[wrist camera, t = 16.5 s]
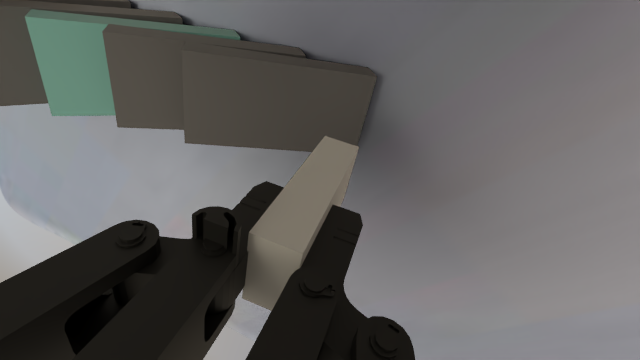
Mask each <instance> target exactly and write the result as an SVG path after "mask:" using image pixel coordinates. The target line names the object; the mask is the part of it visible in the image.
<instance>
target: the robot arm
mask: <svg viewBox="0 0 640 360" xmlns="http://www.w3.org/2000/svg"><path fill="white" fill-rule="evenodd" d="M358 149H359V147H358V146H355V145H352V144H349V143H346V142H343V141H339V140H336V139H333V138H330V137H327V136H324V138H323V139H322V140H321V142H320V143H319V144H318V145H317V147H316V148H315V149H314V150H313V152H312V153H311V154H310V155H309V157H308V158H307V159H306V161H305V162H304V163H303V164H302V166H301V167H300V168H299V169H298V171H297V172H296V173H295V175H294V176H293V177H292V178H291V180H290V181H289V182H288V183H287V185H286V186H285V187H284V188H283V187H281V186H278V185H275V184H272V183H270V182H267V181H266V182H263V183H261V184H259V185H257V186H254V187H253V188H252V190H251V191H250V192H249V193H248V194H247V195H246V197H244V198H243V199H242V200H241V201H240V203H239V204H237V206H236V207H235V208H234V209H233V210H230V209H228V208H224V207H206V208H203V209H199V210H198V211H196V212H195V213H193V214H192V233H193V237H192V238H191V239H178V238H169V237H160V236H159V230H158V229H157V227H156V226H155V225H154V224H152V223H150V222H147V221H142V220H131V221H125V222H122V223H119V224H117V225H114V226H112V227H110V228H108V229H106V230H104V231H102V232H100V233H98V234H96V235H94V236H92V237H90V238H88V239H87V240H85V241H83V242H81V243H79V244H77V245H75V246H73V247H71V248H69V249H67V250H65V251H63V252H61V253H59V254H57V255H55V256H53V257H51V258H49V259H47V260H45V261H43V262H41V263H39V264H37V265H35V266H33V267H31V268H29V269H27V270H25V271H23V272H21V273H19V274H17V275H15V276H13V277H11V278H9V279H7V280H5V281H3V282H1V283H0V360H203V358H204V357H205V355H206V354H207V352H208V351H209V349H210V347H211V346H212V344H213V343H214V341H215V340H216V338H217V337H218V335H219V333H220V332H221V330H222V329H223V327H224V326H225V324H226V323H227V321H228V319H229V318H230V316H231V315H232V313H233V310H234V307H235V299H236V298H237V296H238V295H239V293H240V292H241V290H242V289H243V295H242V298H243V299H245V300H248V301H250V302H252V303H255V304H257V305H259V306H262V307H264V308H266V309H269V310H271V313H270V315H269V317H268V319H267V321H266V323H265V324H264V326H263V328H262V330H261V332H260V334H259V336H258V337H257V339H256V341H255V343H254V345H253V347H252V349H251V351H250V352H249V354H248V356H247V358H246V360H415V355H414V349H413V346H412V343H411V340H410V337H409V336H408V334H407V333H406V332H405V330H404V329H403V327H401V326H400V325H399V324H397V323H396V322H395V321H393V320H391V319H388V318H385V317H378V316H373V317H370V318H367V317H366V316H364V315H363V314H362V313H361V312H359V311H358V310H357V309H356V308H355V307H354V306H353V305H352V304H351V303H350V302H349V300H348V299H347V297H346V294H345V292H344V285H343V284H344V279H345V276H346V273H347V270H348V267H349V264H350V261H351V258H352V255H353V252H354V249H355V247H356V244H357V241H358V238H359V235H360V232H361V229H362V226H363V224H362V220H361V216H360V214H358V213H355V212H353V211H350V210H347V209H344V208H342V207H340V206H341V204H342V202H343V200H344V197H345V193H346V190H347V187H348V183H349V180H350V176H351V173H352V170H353V166H354V163H355V160H356V156H357V153H358Z"/></svg>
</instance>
